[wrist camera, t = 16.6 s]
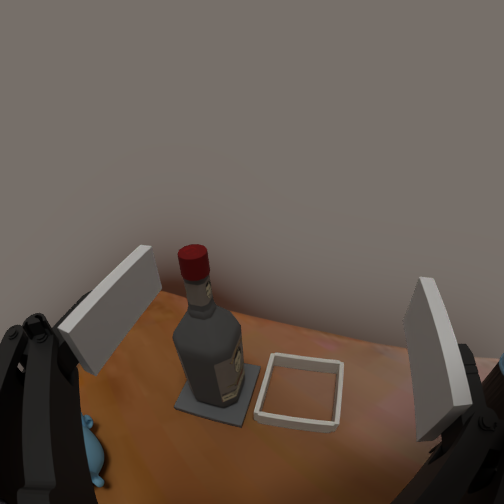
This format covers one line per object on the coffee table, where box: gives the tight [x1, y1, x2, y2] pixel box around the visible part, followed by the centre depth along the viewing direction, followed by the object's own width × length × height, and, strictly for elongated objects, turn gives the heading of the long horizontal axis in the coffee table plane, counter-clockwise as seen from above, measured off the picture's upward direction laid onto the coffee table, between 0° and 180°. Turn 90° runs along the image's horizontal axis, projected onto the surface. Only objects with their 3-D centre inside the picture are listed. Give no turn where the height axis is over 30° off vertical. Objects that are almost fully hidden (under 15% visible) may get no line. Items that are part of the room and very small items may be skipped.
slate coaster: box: [174, 363, 261, 428], centre depth 49 cm, size 13×14×1 cm
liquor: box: [173, 244, 245, 407], centre depth 41 cm, size 9×9×30 cm
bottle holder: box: [254, 352, 344, 433], centre depth 47 cm, size 15×15×4 cm
